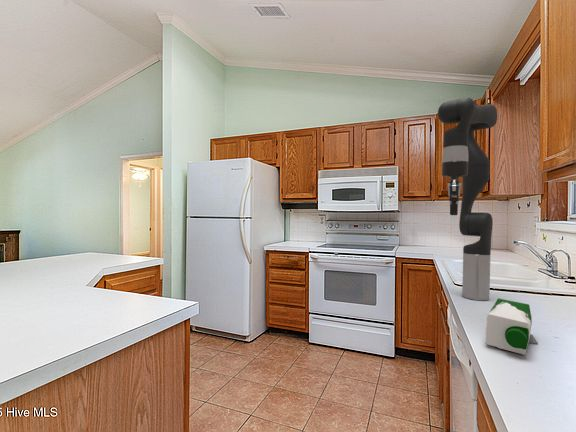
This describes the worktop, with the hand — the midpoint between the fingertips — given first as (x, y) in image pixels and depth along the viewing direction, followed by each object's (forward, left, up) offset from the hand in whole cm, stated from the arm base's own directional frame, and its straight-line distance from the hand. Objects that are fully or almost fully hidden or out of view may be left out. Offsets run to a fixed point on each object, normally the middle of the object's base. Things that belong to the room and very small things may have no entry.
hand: (453, 215), depth 103 cm
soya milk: (+9, +15, -27) cm, 32 cm away
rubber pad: (+14, +16, -32) cm, 38 cm away
